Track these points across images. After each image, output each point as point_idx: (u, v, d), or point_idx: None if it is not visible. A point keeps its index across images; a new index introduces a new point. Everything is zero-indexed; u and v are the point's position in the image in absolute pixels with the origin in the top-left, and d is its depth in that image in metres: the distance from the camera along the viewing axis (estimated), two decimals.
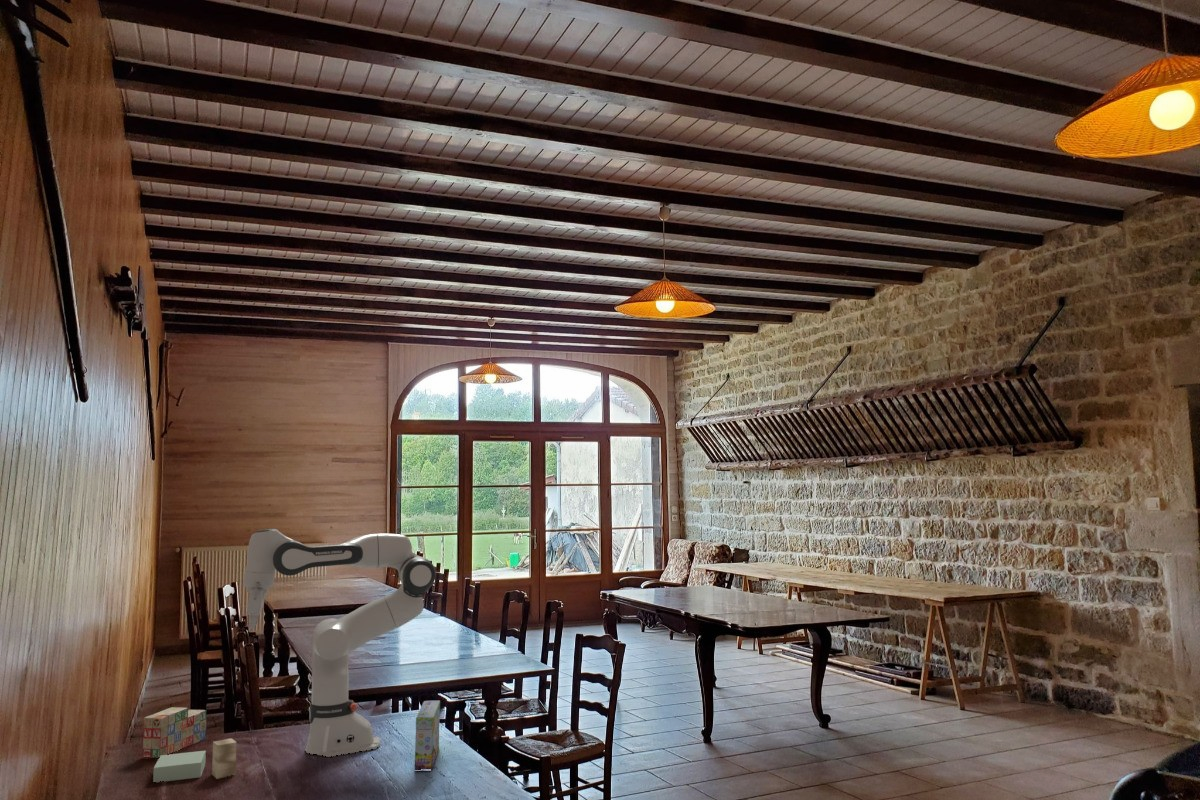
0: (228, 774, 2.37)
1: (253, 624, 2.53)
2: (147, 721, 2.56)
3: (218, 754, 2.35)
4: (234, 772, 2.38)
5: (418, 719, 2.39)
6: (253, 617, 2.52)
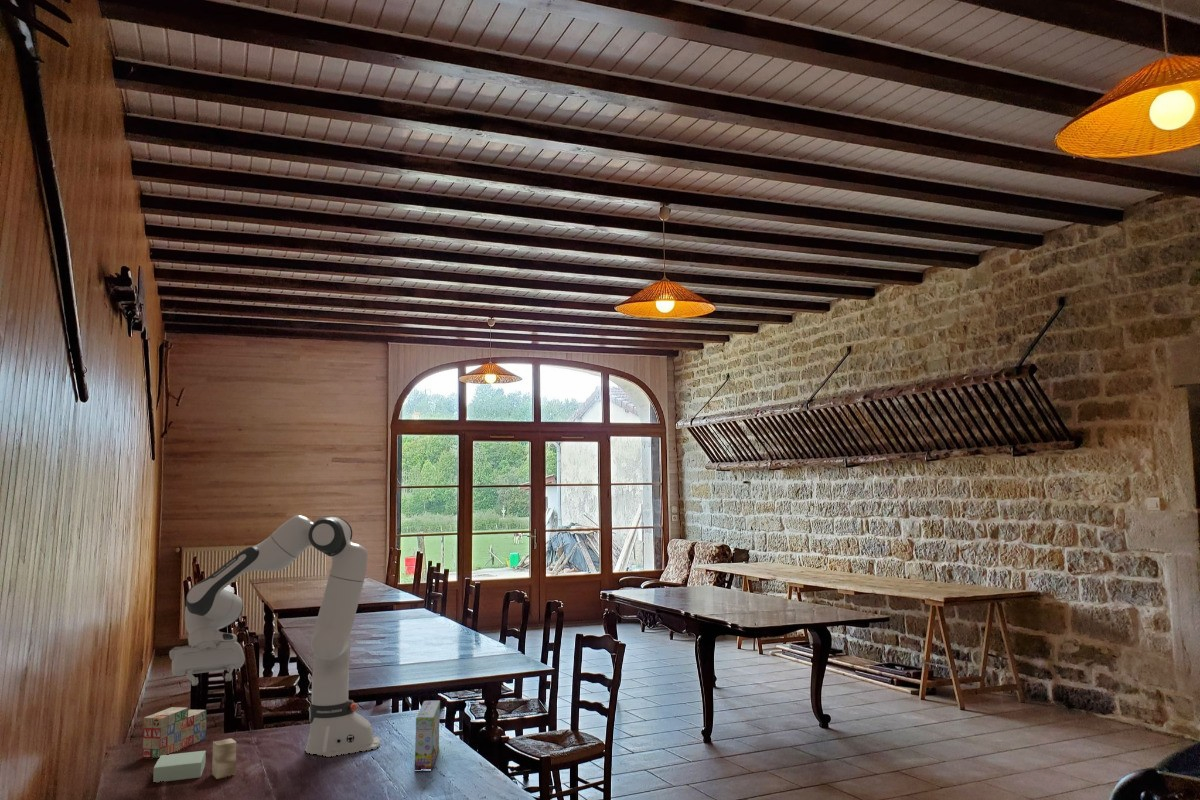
0: (228, 774, 2.37)
1: (192, 679, 2.47)
2: (147, 721, 2.56)
3: (218, 754, 2.35)
4: (234, 772, 2.38)
5: (418, 719, 2.39)
6: (187, 674, 2.48)
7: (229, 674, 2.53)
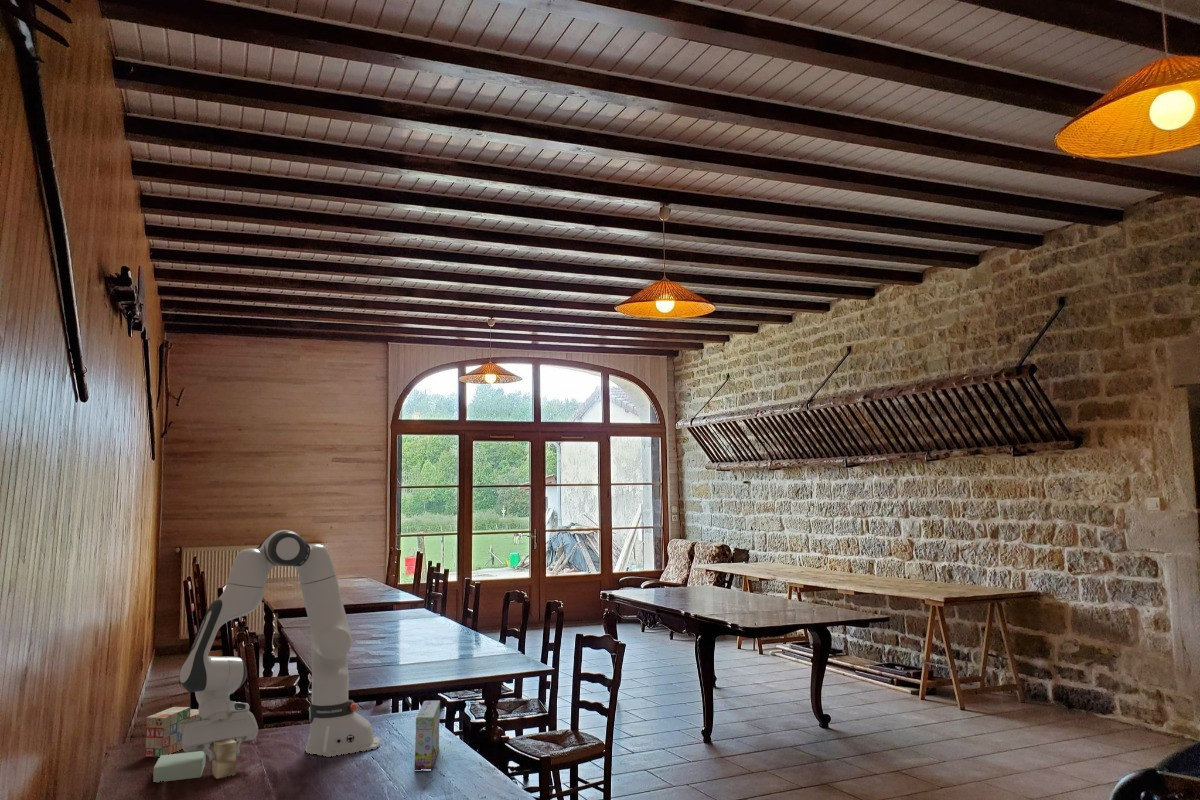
0: (228, 774, 2.37)
1: (209, 754, 2.36)
2: (150, 721, 2.56)
3: (218, 754, 2.35)
4: (234, 772, 2.38)
5: (418, 719, 2.39)
6: (204, 749, 2.37)
7: (237, 749, 2.41)
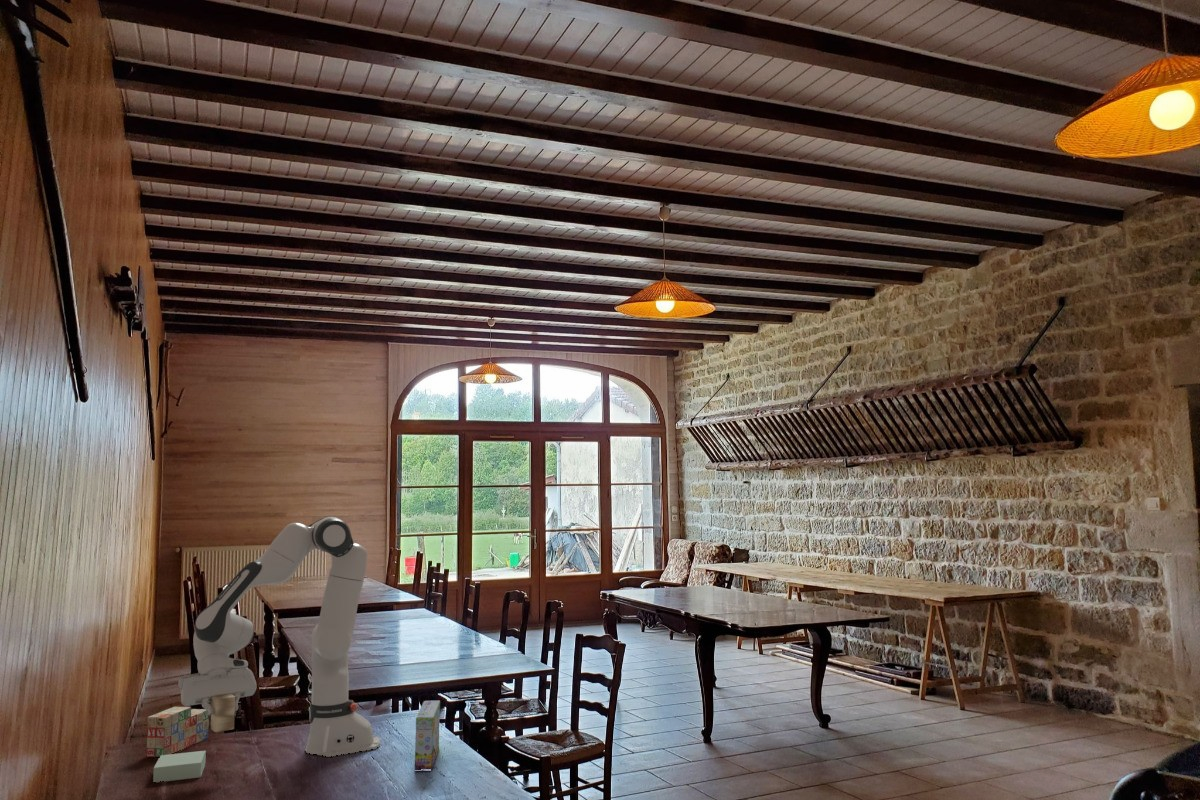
0: (227, 728, 2.38)
1: (208, 708, 2.38)
2: (151, 720, 2.56)
3: (217, 708, 2.37)
4: (233, 726, 2.39)
5: (418, 719, 2.39)
6: (203, 703, 2.39)
7: (235, 704, 2.42)
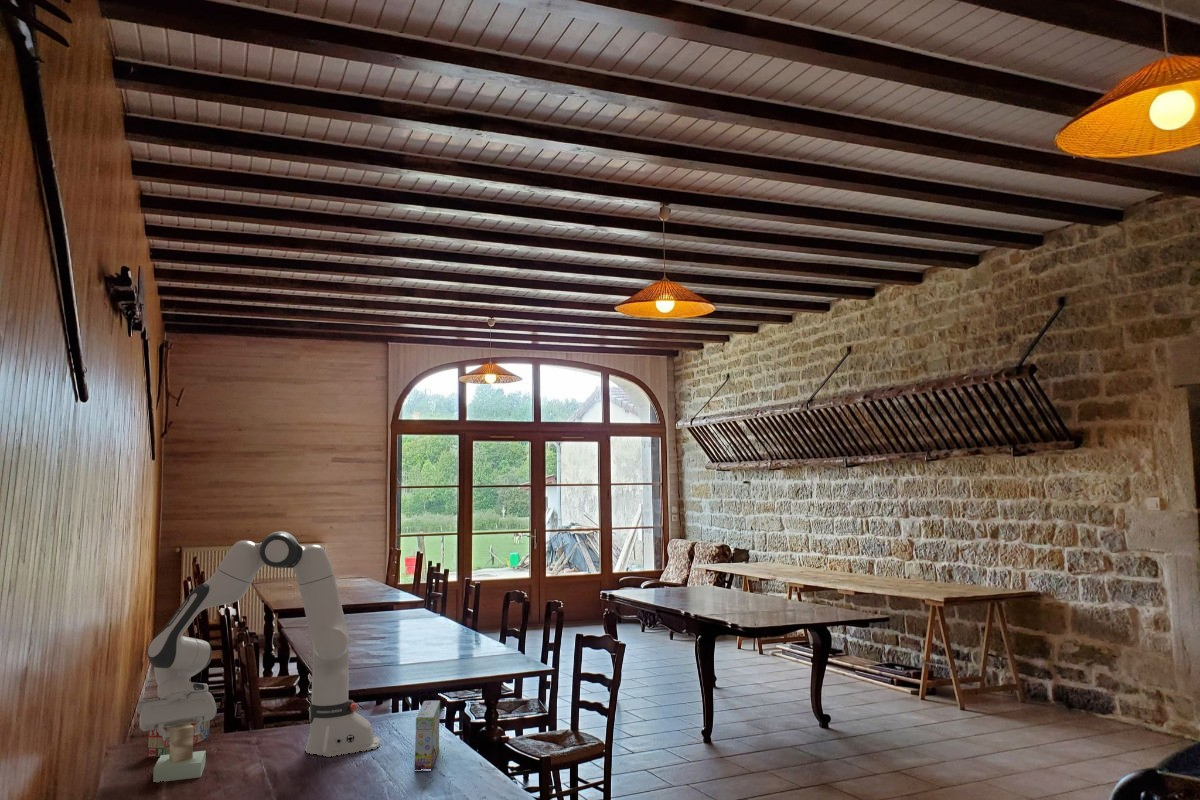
0: (185, 758, 2.39)
1: (163, 734, 2.38)
2: None
3: (175, 738, 2.38)
4: (191, 756, 2.40)
5: (418, 719, 2.39)
6: (158, 728, 2.39)
7: (197, 728, 2.43)
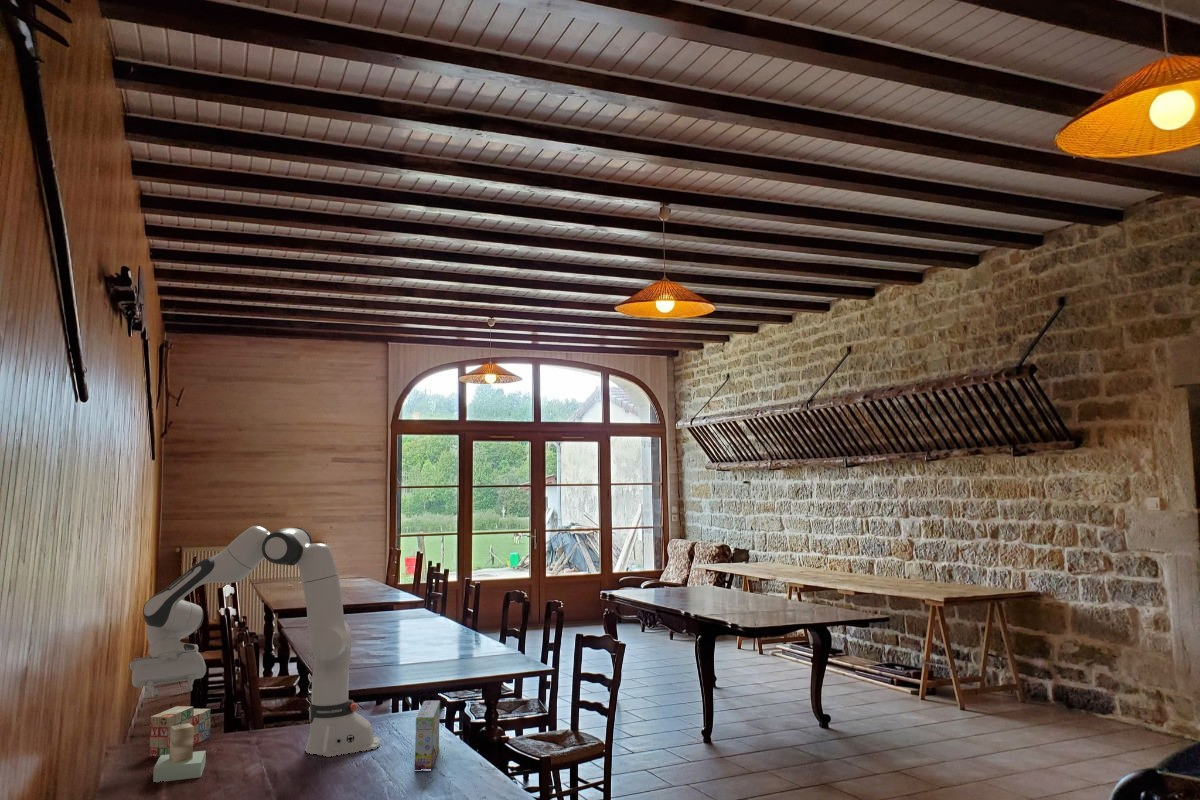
0: (185, 758, 2.39)
1: (152, 690, 2.49)
2: (154, 720, 2.57)
3: (175, 738, 2.38)
4: (191, 756, 2.40)
5: (418, 719, 2.39)
6: (147, 685, 2.50)
7: (190, 684, 2.55)
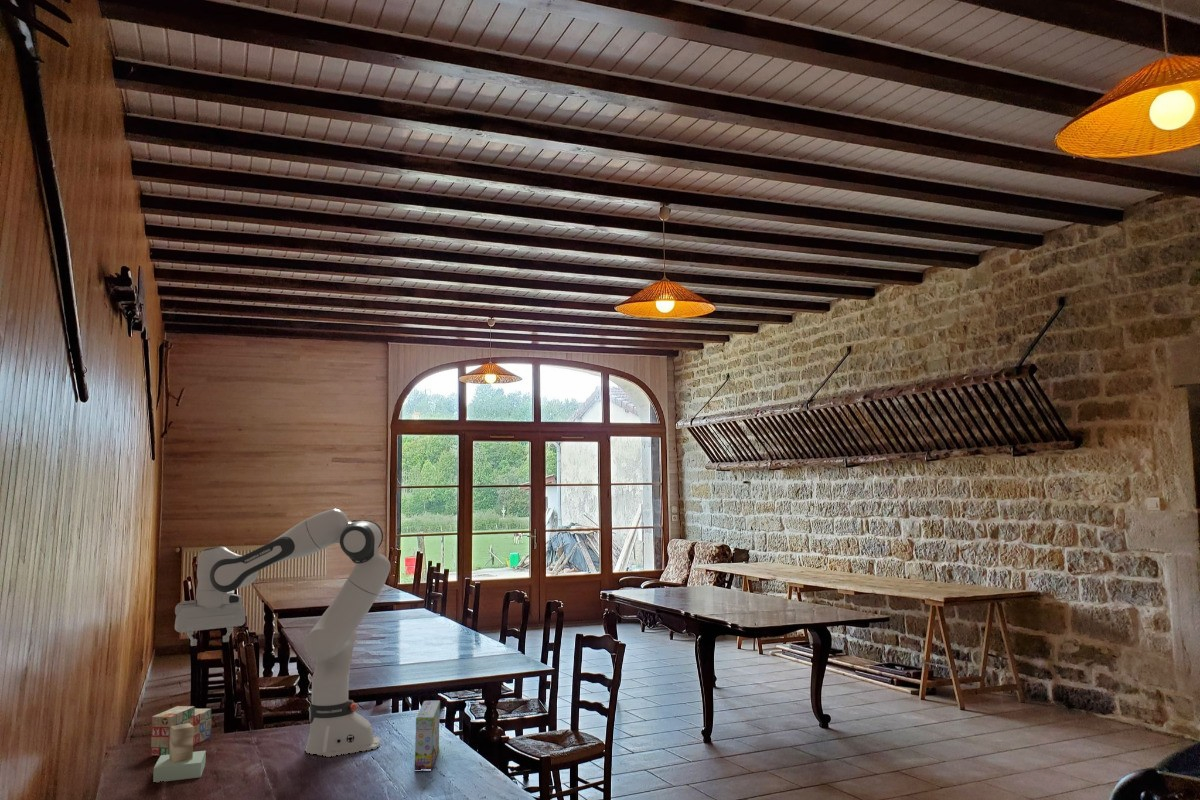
0: (185, 758, 2.39)
1: (191, 641, 2.58)
2: (155, 720, 2.57)
3: (175, 738, 2.38)
4: (191, 756, 2.40)
5: (418, 719, 2.39)
6: (188, 634, 2.58)
7: (227, 638, 2.64)
